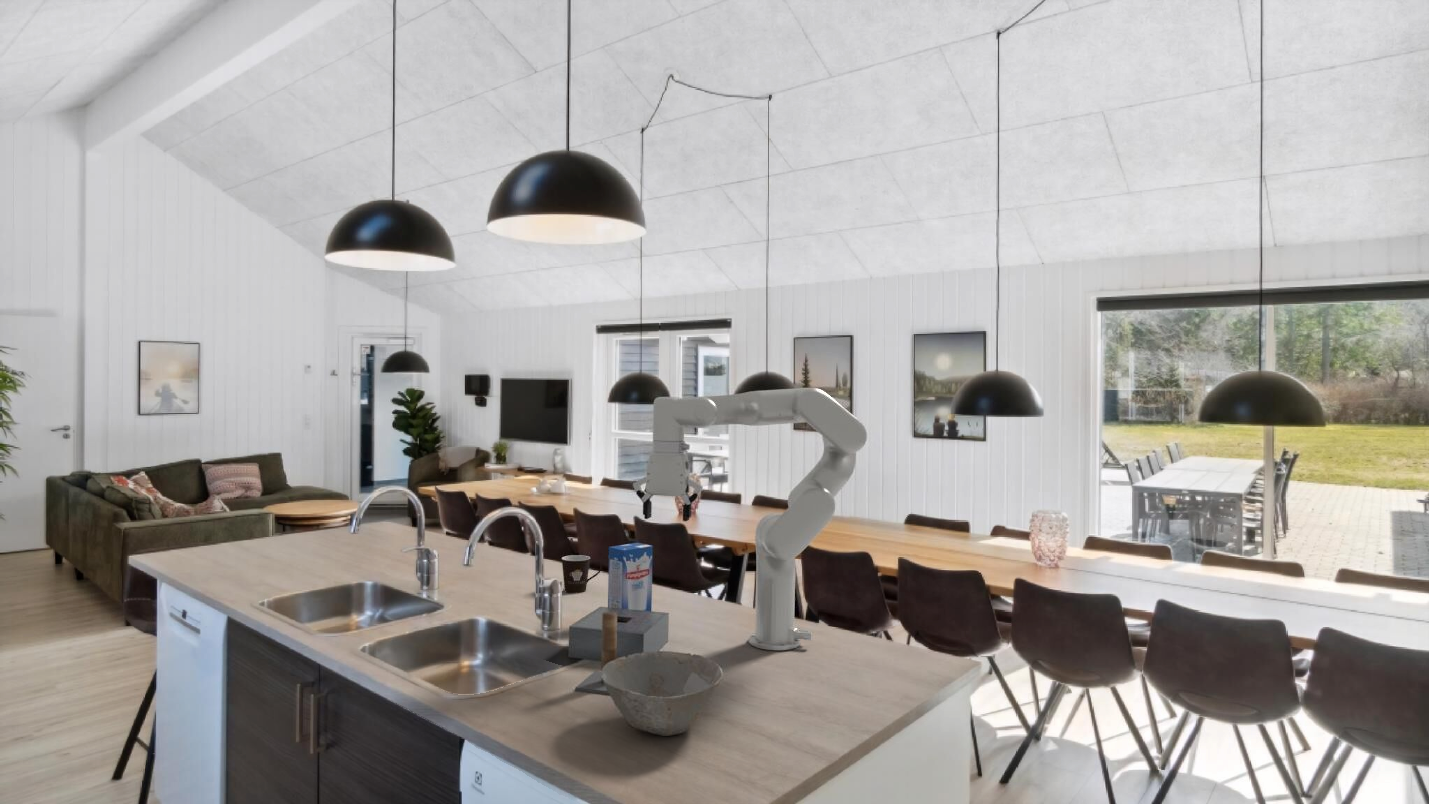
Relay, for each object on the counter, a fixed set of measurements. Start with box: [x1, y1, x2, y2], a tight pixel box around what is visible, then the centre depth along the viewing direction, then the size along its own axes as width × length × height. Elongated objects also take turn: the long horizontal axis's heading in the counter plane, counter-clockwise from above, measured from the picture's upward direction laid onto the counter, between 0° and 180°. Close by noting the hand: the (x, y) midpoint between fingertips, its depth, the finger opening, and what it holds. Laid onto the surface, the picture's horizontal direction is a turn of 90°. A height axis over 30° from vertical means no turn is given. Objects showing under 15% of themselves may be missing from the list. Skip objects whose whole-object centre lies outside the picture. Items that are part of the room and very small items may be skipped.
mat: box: [575, 670, 610, 696], centre depth 161 cm, size 10×10×1 cm
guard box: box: [568, 606, 670, 662], centre depth 184 cm, size 18×18×7 cm
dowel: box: [600, 612, 617, 684], centre depth 161 cm, size 3×3×14 cm
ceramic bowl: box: [600, 650, 724, 737], centre depth 141 cm, size 22×23×10 cm
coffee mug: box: [561, 554, 603, 594], centre depth 238 cm, size 12×9×10 cm
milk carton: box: [607, 542, 654, 611], centre depth 207 cm, size 10×6×20 cm, turn 136°
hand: (666, 519), depth 187 cm, fingers open, 9 cm apart
